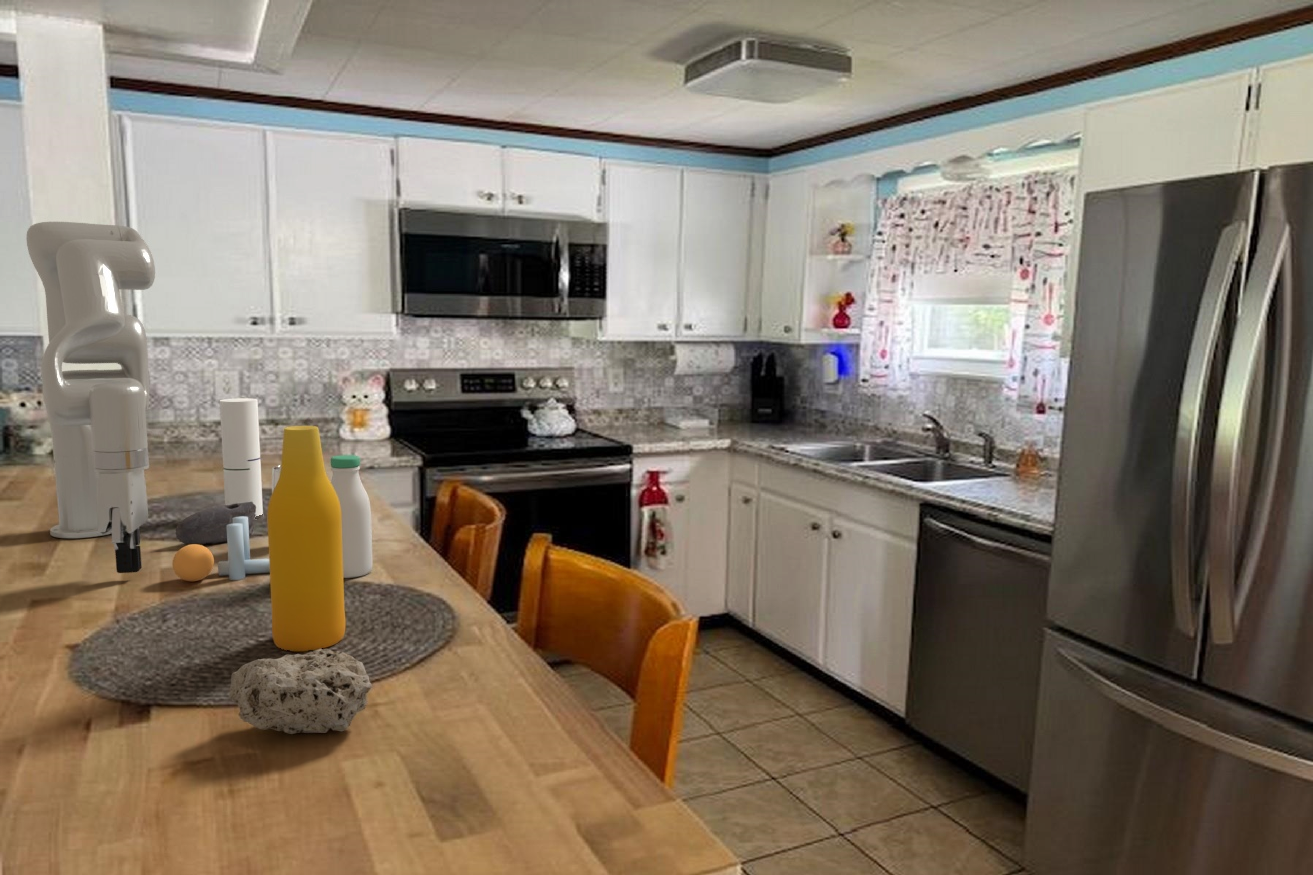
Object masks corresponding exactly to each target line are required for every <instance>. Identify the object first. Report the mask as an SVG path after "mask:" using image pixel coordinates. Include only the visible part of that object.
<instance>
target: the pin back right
mask: <svg viewBox="0 0 1313 875" xmlns="http://www.w3.org/2000/svg"><path fill="white" fill-rule="evenodd" d="M232 520H233V523H241V524H243V541H244V560H251V552H250V551H251V550H250V547H251V545H250V536H249V526H248V517H246V516H240V517H234V518H232Z"/></svg>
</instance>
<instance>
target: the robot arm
mask: <svg viewBox="0 0 1313 875" xmlns="http://www.w3.org/2000/svg"><path fill="white" fill-rule="evenodd" d="M25 240H26V246H27V251H28V254H29V257H30V261H31V262H32V265H33V266H34V269H35V270H36V273H37V275H38V277H39V278H40V280H41V282H42V285H43V289H44V294H45V304H46V305H45V306H46V307H45V308H46V318H47V333H48V334H47V335H48V344H47V346H46V347H45V350H44V353H43V356H42V360H41V370H40V372H41V381H42V396H43V401H44V405H45V409H46V414H47V416H48V422H49V427H50V432H51V433H50V434H51V439H52V440H51V441H52V442H51V443H52V454H53V464H54V476H55V477H54V478H55V485H56V487H55V489H56V499H57V511H58V513H57V514H58V524H56V525H54V526H52V527H51V528H50V529H49V533H50V536H52V537H54V538H60V539H86V538H94V537H101V536H108V535H111V543H112V544H113V546H114V553H115V566H116V568H115V569H116V573H118V574H126V573H127V574H132V573H138V572H139V571H141V569H142V554H141V553H142V552H141V545H140V544H141V535H140V534H141V526H142V525H143V524H144V523H145V522H146V521H147V520H148V515H149V514H148V513H149V511H148V510H149V509H148V508H149V506H148V494H147V493H148V492H147V484H146V475H145V471H144V470H148V469H149V468H150V462H149V461H150V460H149V459H150V458H149V447H148V446H149V443H148V429H147V415H146V413H147V412H148V409H149V405H150V396H151V395H150V377H149V355H148V353H149V352H148V341H147V340H148V339H147V334H146V330H145V327H144V325H143V322H142V321H141V320H140V319H139V318H138V317H137V316H134V315H131V314H126V313H124V309H123V305H122V299H121V292H120V290H128V291H131V290H132V291H133V290H134V291H144V290H148V289H150V288H151V287H152V286H153V284H154V282H155V278H156V266H155V261H154V258H153V254H152V252H151V250H150V248H149V246H148V245H147V243H146V242H145V239H143V238H142V236H141V234H139V232H138V231H137V230H136V229H135V228H133V227H130V226H125V225H114V224H98V223H97V224H96V223H86V222H73V221H72V222H71V221H42V222H37V223H34V224H32V225H30V226H29V227H28V229H27V232H26V239H25ZM64 363H65V364H73V365H74V364H75V365H78V364H79V365H81V364H83V365H84V364H85V365H86V364H89V365H90V364H93V365H94V364H117V365H120V367H121V368H120V369H119V368H118V369H72V370H71V369H70V370H64V371H63V367H62V366H63V364H64Z"/></svg>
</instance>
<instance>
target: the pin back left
mask: <svg viewBox="0 0 1313 875" xmlns="http://www.w3.org/2000/svg"><path fill="white" fill-rule="evenodd" d="M226 543H227V561H228V564H229V575H228V577H229V578H228V579H229V580H231V581H240V580H244V579H246V574H245V561H244V541H243V524H241V523H233V524H228V525H227V542H226Z"/></svg>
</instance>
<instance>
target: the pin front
mask: <svg viewBox="0 0 1313 875" xmlns="http://www.w3.org/2000/svg"><path fill="white" fill-rule="evenodd" d="M244 561H245V575H252V574H253V575H254V574H256V575H257V574H270V563H269V558H255V559H254V558H253V559H250V560H244ZM217 564H218V565H217V572H218V576H220V577H223V576H229V564H228V560H220V561H218V563H217Z"/></svg>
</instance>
